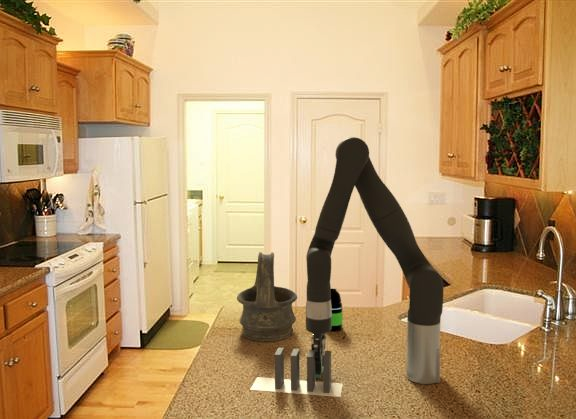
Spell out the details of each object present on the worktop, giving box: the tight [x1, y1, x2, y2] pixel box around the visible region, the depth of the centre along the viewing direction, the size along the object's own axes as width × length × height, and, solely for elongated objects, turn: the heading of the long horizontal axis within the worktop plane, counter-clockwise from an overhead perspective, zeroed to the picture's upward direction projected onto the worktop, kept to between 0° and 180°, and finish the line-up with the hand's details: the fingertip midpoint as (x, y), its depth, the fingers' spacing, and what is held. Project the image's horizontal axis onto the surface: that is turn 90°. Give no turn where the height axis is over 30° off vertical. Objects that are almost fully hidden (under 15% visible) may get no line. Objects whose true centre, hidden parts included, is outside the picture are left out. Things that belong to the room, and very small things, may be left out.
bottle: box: [330, 288, 344, 333], centre depth 191 cm, size 7×7×15 cm
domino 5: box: [322, 350, 332, 393], centre depth 142 cm, size 2×5×10 cm, turn 169°
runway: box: [249, 376, 344, 398], centre depth 144 cm, size 25×8×1 cm, turn 79°
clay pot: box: [236, 252, 298, 342], centre depth 187 cm, size 22×23×30 cm
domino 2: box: [290, 348, 301, 391], centre depth 144 cm, size 2×5×10 cm, turn 169°
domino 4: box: [315, 354, 323, 379], centre depth 152 cm, size 2×5×10 cm, turn 169°
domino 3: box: [306, 349, 316, 392], centre depth 143 cm, size 2×5×10 cm, turn 169°
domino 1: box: [274, 347, 285, 389], centre depth 145 cm, size 2×5×10 cm, turn 169°
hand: (318, 369), depth 152 cm, fingers closed on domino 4, 5 cm apart
